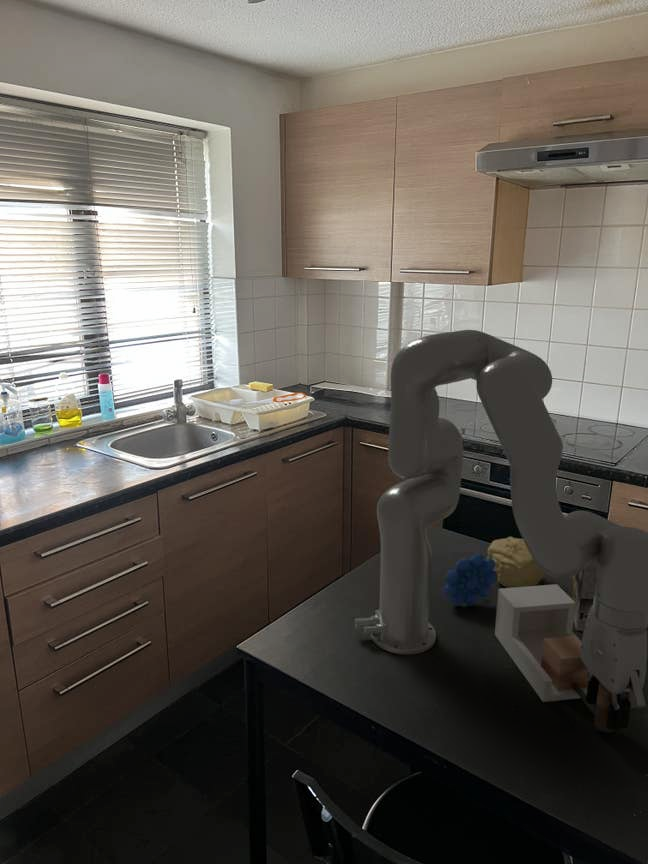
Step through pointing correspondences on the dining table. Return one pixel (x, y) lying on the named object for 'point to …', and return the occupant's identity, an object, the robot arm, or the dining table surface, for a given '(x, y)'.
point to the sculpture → (514, 563)
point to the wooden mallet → (573, 674)
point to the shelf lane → (534, 631)
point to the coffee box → (583, 594)
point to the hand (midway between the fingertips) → (606, 713)
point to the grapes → (470, 580)
